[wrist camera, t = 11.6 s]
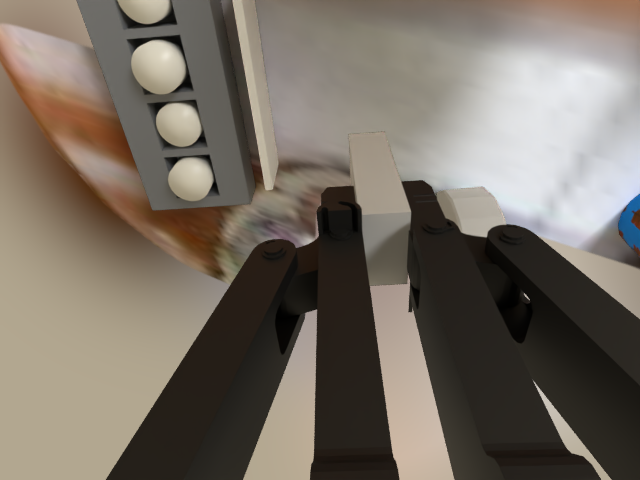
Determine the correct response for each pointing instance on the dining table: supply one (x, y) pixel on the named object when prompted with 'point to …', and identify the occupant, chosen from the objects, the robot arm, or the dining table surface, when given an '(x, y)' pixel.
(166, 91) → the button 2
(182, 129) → the button
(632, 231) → the thermos
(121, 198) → the dining table surface
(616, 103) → the dining table surface
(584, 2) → the dining table surface
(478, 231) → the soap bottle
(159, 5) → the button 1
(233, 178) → the board
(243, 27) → the card
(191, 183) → the button
